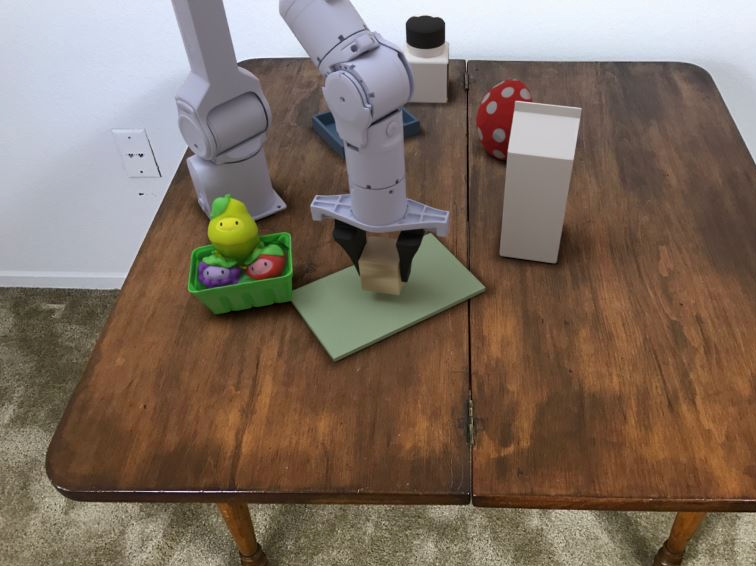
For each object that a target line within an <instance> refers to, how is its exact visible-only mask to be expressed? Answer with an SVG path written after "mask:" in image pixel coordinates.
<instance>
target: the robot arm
mask: <svg viewBox="0 0 756 566" xmlns="http://www.w3.org/2000/svg"><path fill="white" fill-rule="evenodd" d="M170 2H171V5H172V9H173V12H174V16H175V20H176V23H177V27H178V29H179V33H180V34H179V35H180V38H181V40H182V43H183V48H184V50H185V54H186V57H187V62H188V64H189V68H190V71H189V74H188V75H187V77H186V78H185V79H184V80H183V83H182V84H181V85H180V87H179V88H178V90H177V91H176V93H175V95H174V100H175V105H176V109H177V126H178V129H179V133H180V134H181V137H182V139H183V140H184V142H185V144H186V145H187V146H188V148H189V149H190V150H191V152H193V153H194V154H193V155H191V156H189V157H187V158H186V165H187V170H188V172H189V174H190V178H191V181H192V184H193V187H194V190H195V193H196V197H197V199H198V200H197V202H198V204H199V206H200V207H201V210H202V211H203V212H204V213H205V215H206V216H207V217H208V219H209V221H211V217H210V214H211V212H212V203H213V201H214V200H215V199H216V198H219V197H223V198H225V195H231V196H232V198H233V199H236V200H238V201H240V202H242V203H244V205H245V206H246V208H247V211H248V213H249V215H250V216H251V217H252V218H253V220H254V221H255V222H256V221H258V220H261V219H263V218H266V217H269V216H271V215H274V214H275V213H277V212H280V211H283V210H285V209H287V207H288V206H287V204H286V202H285V201H284V200H283V199H282V198H281V196H280V195H279V194H278V193H277V192H276V190H275V189H274V188H273V184H272V181H271V176H270V171H269V166H268V163H267V162H268V161H267V159H266V153H265V149H264V145H263V144H264V143H265V142H266V141H268V139H267V134H266V132H268V131H269V130H270V129H271V127H272V123H273V115H272V114H273V113H272V109H271V106H270V104H269V102H268V100H267V98H266V96H265V94H264V91H263V89H262V86H261V81H260V79H259V78H258V77H257V76H256V75H254V74H253V73H252V72H251V71H250V70H248V69H246V68H244V67H241V66H239V64H238V60H237V56H236V51H235V48H234V42H233V39H232V35H231V30H230V26H229V22H228V21H229V20H228V18H227V13H226V9H225V5H224V0H170ZM278 13H279V15H280V17H281V18H282V20H283V21H284V22H285V24H286V25H287V27H288V28H289V29H290V31H291V33H292V34H293V35H294V38H296V40H297V41H298V43H299V44H300V46H301V47H302V49H303V50H304V51H305V53H306V54H307V56H308V57H309V59H310V60H311V62H312V63H313V64H314V66H315V67H316V69H317V70H318V71H319V73H320V75H321V76H322V77H323V79H324V80H325V81H324V82H325V83H324V86H321V90H322V96H323V98H324V102H325V103H326V105H327V107H328V110H330V111H331V113H332V115H333V117H334V119H335V123H336V130H337V132H338V133H339V137H340V138H341V139H343V141H344V149H345V157H346V159H345V163H346V164H345V165H346V172H347V180H348V189H349V193H343V194H333V195H321V194H320V195H319V194H316V195H315V196H314V198H313V200H312V201H311V203H310V212H311V218H312V221H316V222H322V221H324V219H330V220H333V221H334V227H333V230H332V232H331V235H332V240H333V241H334V242H335V243H336V244H338V246H340V247H341V248H342V249H343V250H344V252H345V253H346V255H347V256H348V257H349V259H350V260H351V262H352V264H353V265H354V266H355V268H356V270H357V272H358V275H359V276H360V270H359V262H358V261H359V259H360V257H361V254H362V252H363V249H364V247H365V244H366V242H367V240H368V239H367V232H369V233H375V234H380V233H391V232H392V233H393V232H399V234H398V237H397V238H396V240H397V242H396V248H397V251H398V254H399V259H400V276H401V281H402V282H408V279H409V276H410V273H411V266H412V260H413V258H414V256H415V254H416V253H417V251H418V249H419V247H420V245H421V242H422V239H423V236H425V234H426V231H427V232H434V233H435V235H436V236H437V237H443V238H446V237H447V235H448V232H449V229H450V210H443V209H439V208H435V207H432V206H430V205H427V204H424V203H421V202H419V201H416V200H414V199H411V198H408V197H407V183H406V182H407V181H406V161H405V160H406V159H405V141H404V139H405V138H404V137H403V117H402V109H400V107H402V106H403V107H404V106H405V105H406V104H407V103H409V102H408V101H410V99H411V98H412V96H413V94H414V89H415V81H414V75H413V72H412V69H411V66H410V64H409V62H408V60H407V59H406V57H405V55H404V53H403V50H402V49H401V48H400V46H398V45H396V44H395V43H394V42H392V41H390V40H387V39H385V38H384V37H383V36H382V35H381V33H380V32H377V31H376V30H374V31H371V30H370V28H369V26H368V25H367V23H366V22H365V21H364V19H363V18H362V17H361V15H360V13H359V12H358V10H357V9H356V7H355V6H354V5H353V3H352V1H351V0H278Z"/></svg>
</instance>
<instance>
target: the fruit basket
mask: <svg viewBox="0 0 756 566" xmlns="http://www.w3.org/2000/svg"><path fill="white" fill-rule="evenodd" d="M210 217H211V220H209V224H208V227H207V236H208V240H209V241H210V243H211V244H208V245H203V246H198V247H196V248H195V249H193V250H192V252H191V255H190V263H189V264H190V265H189V273H188V281H187V290H188V292H189V293H191V294H192V295H193V296H195V297H196V298H198V299H199V300H200V301H201V302H202V303H203V304H204V305H205V306H206V307H207V308H208V309H209V310H210V311H211V312H212V313H213V314H214V315H221V314H225V313H229V312H231V311H233V312H235V311H236V312H237V311H243V310H249V309H251V308H253V307H254V308H261V307H265V306H271V305H273V304H282V303H287V302H291V300H292V291H293V279H292V278H293V276H294V267H293V253H292V251H293V250H292V235H291V234H290V233H289V232H287V231H286V232H285V231H283V232H277V233H271V234H265V235H259V228H258V224H257V223H256V220H255V221H254V220H253V218H252V217H251V216H250V215H249V213H248V211H247V208H246V206H245V205H244V203H242V202H240V201H238V200H236V199H233V198H232V196H231V195H225V198H223V197H219V198H216V199H215V200H214V201H213V203H212V212H211V214H210Z"/></svg>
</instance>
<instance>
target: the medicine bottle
mask: <svg viewBox="0 0 756 566" xmlns="http://www.w3.org/2000/svg"><path fill="white" fill-rule="evenodd" d="M402 51H403V53H404V55H405V57H406V59H407V60H408V62H409V64H410V66H411V69H412V72H413V75H414V81H415V89H414V94H413V96H412V98H411V99H410V101H408V102H407V103H427V104H429V103H432V104H433V103H435V104H436V103H437V104H447V103H448V102H449V89H450V87H449V86H450V42H449V41H446V22H445V20H444V19H443V18H442V17H441V16H439V15H435V14H432V13H418V14H415V15H413V16H410V17H409V18H408V19H407V20H406V21H405V41H404V44H403V50H402Z"/></svg>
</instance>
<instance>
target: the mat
mask: <svg viewBox="0 0 756 566" xmlns="http://www.w3.org/2000/svg"><path fill="white" fill-rule="evenodd" d="M485 292H486V286H485V285H484V284H483V283H482V282H481V281H480V280H479V279H478V278H477V277H476V276H475V275H474V274H473V273H472V272H471V271H470V270H469V269H468V268H467V267H466V266H465V265H463V263H462V262H461V261H460V260H458V258H457V257H455V255H454V254H453V253H452V252H451V251H449V249H448V248H447V247H445V245H443V244H442V243H441V241H439V239H437V238H436V237H435V236H434V234H432V232H430V233H428V234H424V236H423V239H422V242H421V245H420V247H419V249H418V251H417V253H416V254H415V256H414V258H413V260H412V266H411V273H410V276H409V279H408V282H404V284H403V286H402V289H401V292H400V295H393V294H386V293H378V292H371V291H364V290H362V286H361V278H360V276H359V275H358V272H357V270H356V268H355V266H354V264H353V265H351V266H350V265H349V266H348V267H346V268H344V269H341V270H339V271H335V272H334V273H331V274H329V275H327V276H325V277H322V278H320V279H317V280H315V281H311V282H310V283H308V284H305V285H302V286H301V287H298V288H296V289H292V300H291V301H290V302H291V304H292V305H293V306H294V308H295V309H296V311H297V312H298V314H299V315H300V316H301V318H302V319H303V321H304V322H305V323H306V325H307V326H308V328H309V329H310V330H311V331H312V333H313V335H314V336H315V337H316V338H317V340H318V342H319V343H320V345H321V346H322V347H323V348H324V350H325V352H326V353H327V354H328V355H329V357H330V358H331V360H332V361H333V362H334V363H336V362H338V361H341V360H342V359H344V358H346V357H349V356H350V355H353V354H356V353H357V352H359V351H361V350H364V349H365V348H367V347H370V346H372V345H374V344H377V343H379V342H380V341H382V340H385V339H386V338H387V339H388V338H389V337H391V336H393V335H396V334H398V333H400V332H402V331H404V330H405V329H408V328H410V327H413V326H414V325H416V324H418V323H421V322H422V321H425V320H427V319H429V318H431V317H433V316H435V315H437V314H439V313H441V312H445V311H446V310H448V309H451V308H452V307H455V306H457V305H458V304H462V302H465V301H468V300H470V299H471V298H473V297H475V296H478V295H480V294H482V293H485Z"/></svg>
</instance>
